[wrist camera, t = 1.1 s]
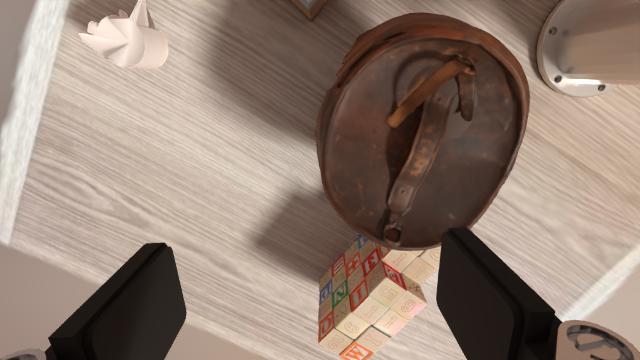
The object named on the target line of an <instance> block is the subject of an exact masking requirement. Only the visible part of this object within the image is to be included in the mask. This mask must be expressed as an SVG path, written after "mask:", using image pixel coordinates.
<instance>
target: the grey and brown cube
mask: <svg viewBox="0 0 640 360" xmlns="http://www.w3.org/2000/svg"><path fill="white" fill-rule="evenodd" d="M289 1H290V2H291V3H292V4H293V5H294V6H295V7H296V8H298V9H299V10H300V11H301V12H302V13H303V14H304V15H305V16H306V17H307V18H308V19H309V20H310V21H313V20H314V18H315V17H316V16H317V14H318V13H319V12H320V10H321V9H322V8H323V6H324V5H325V3H326V2H327V1H328V0H289Z"/></svg>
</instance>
